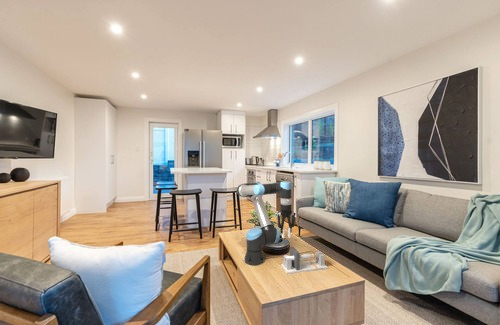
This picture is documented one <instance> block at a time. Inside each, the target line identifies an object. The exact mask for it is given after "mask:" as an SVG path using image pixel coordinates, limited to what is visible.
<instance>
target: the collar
mask: <svg viewBox="0 0 500 325" xmlns="http://www.w3.org/2000/svg"><path fill="white" fill-rule="evenodd" d="M289 250H290V251H289V256H294V260H292V261H291V264H292V265H293V266H294V267H295V268H296V269H300V262H301V261H300V255H301V253H300V252H299V251H298V250H297V249H296V248H295V247H294V246H290V248H289Z"/></svg>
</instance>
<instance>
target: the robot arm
mask: <svg viewBox="0 0 500 325" xmlns="http://www.w3.org/2000/svg"><path fill="white" fill-rule="evenodd" d="M292 188H293V187H292V182H291V181H287V180H285V181H280V182H278V181H277V182H272V183H271V182H270V183H260V182H248V183H242V184H241V183H240V184H239V185H238V186H237V188H236V193H237V195H238V196H239V197H241V198H249V200H250V201H252V203H253V206H254V209H255V213H256V216H257V219H258V222H259V225H260V228H258V227H257V228H255V227H254V228H251V229H248V231H247V232H246V252H245V256H244V262H245V264H247V265H249V266H260V265H262V264H264V263H265V256H264V251H263V247H264V246H269V245H273V244H277V243H279V242H280V237H281V238H282V239H285V228H284V226H285V220H286V218H287V222H288V227H287V237H288V239H291V233H293V232H292V230H293V228H294V227H295V222H296V221H295V220H296V219H295V218H296V213H295V212H293V211H292V206H293V205H292V202H293V201H292V198H293V197H292V195H293V194H292V192H293V191H292ZM274 194H278V195H280V211H279V212H278V213H276V217H277V227H275V225H274V223H272V222H271V219H270V216H269V214H268V210H267V208H266V205H265V203H264V199H263V197H264V196H265V195H274ZM279 229H280V230H279Z"/></svg>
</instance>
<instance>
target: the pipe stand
mask: <svg viewBox="0 0 500 325" xmlns="http://www.w3.org/2000/svg"><path fill="white" fill-rule="evenodd" d="M325 257H326V256H325V254H323V252H321V251H316V252H315V253H313V252H312V253H306V254H305V253H304V254H300V260H303V261H300V269H296V268H295V267H294V266H293V265H292V264H291V261H292V260H294V256H290V255H288V254H284V255H283V263H281V264H280V267H282V269H283V271H285V273H286V274H287V275H291V274H297V273H306V272H314V271H321V270H328V269H329V266H327V265H326V262H325V261H326V260H325ZM307 259H313V260H307ZM304 260H305V261H304Z"/></svg>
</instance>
